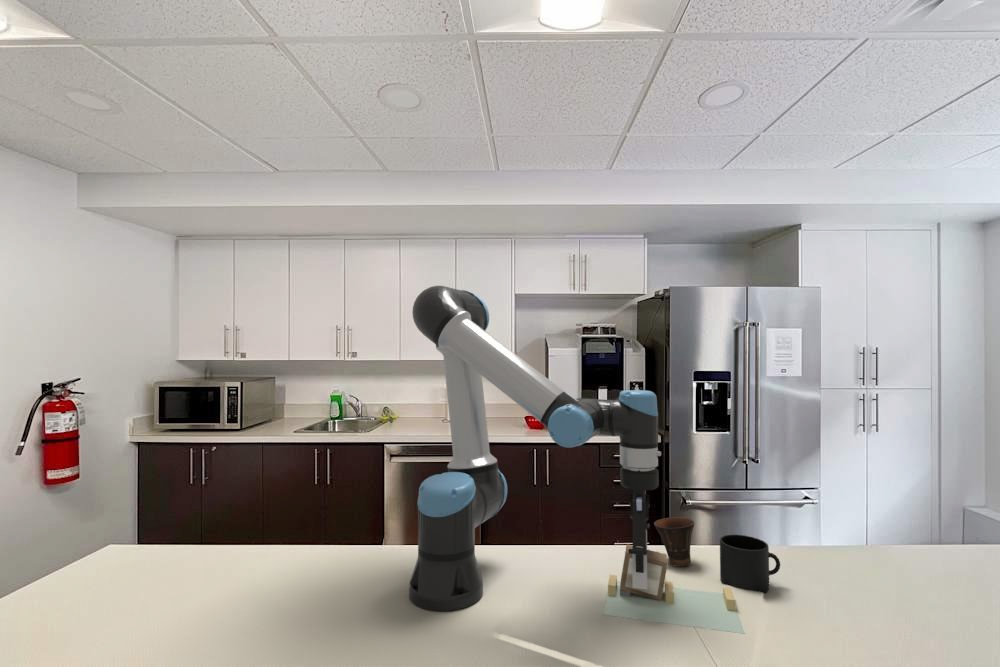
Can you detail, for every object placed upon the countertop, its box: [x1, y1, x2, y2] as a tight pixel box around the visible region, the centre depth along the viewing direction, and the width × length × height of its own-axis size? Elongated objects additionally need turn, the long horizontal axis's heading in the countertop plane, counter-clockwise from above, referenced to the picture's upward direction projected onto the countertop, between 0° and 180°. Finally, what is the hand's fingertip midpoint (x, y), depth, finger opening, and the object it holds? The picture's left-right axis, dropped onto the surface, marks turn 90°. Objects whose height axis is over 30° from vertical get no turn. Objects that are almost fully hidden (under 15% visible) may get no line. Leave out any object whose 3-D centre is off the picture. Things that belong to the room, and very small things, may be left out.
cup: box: [653, 516, 695, 567], centre depth 122 cm, size 9×9×10 cm
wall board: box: [603, 574, 746, 635], centre depth 100 cm, size 24×15×3 cm, turn 74°
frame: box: [620, 543, 668, 601], centre depth 104 cm, size 8×5×8 cm, turn 74°
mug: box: [719, 534, 781, 594], centre depth 110 cm, size 9×12×9 cm
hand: (640, 573), depth 104 cm, fingers open, 13 cm apart
